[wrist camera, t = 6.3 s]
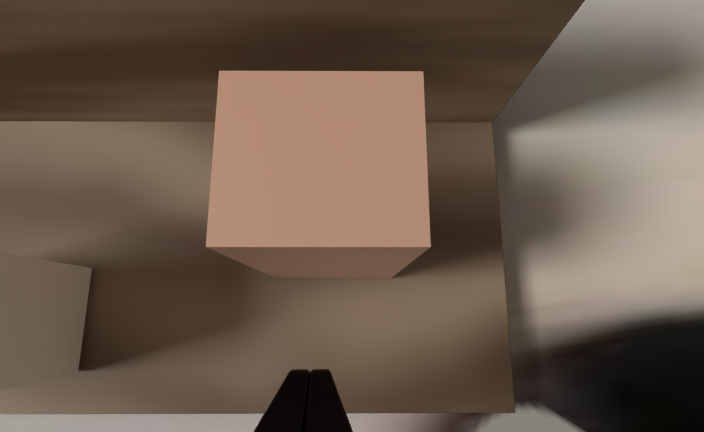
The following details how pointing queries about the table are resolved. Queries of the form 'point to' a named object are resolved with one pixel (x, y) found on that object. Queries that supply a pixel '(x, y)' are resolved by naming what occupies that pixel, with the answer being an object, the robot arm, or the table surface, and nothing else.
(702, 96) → the table surface
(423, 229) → the pink rectangular block
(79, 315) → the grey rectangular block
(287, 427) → the robot arm
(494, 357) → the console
